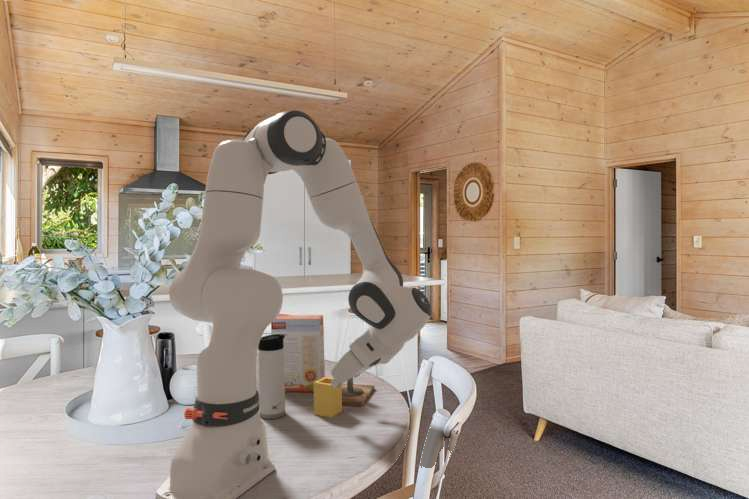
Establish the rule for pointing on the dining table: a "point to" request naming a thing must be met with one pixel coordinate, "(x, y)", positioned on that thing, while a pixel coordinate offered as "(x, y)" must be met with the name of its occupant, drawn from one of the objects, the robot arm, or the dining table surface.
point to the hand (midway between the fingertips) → (344, 379)
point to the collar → (327, 398)
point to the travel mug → (271, 376)
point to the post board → (355, 393)
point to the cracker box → (301, 350)
